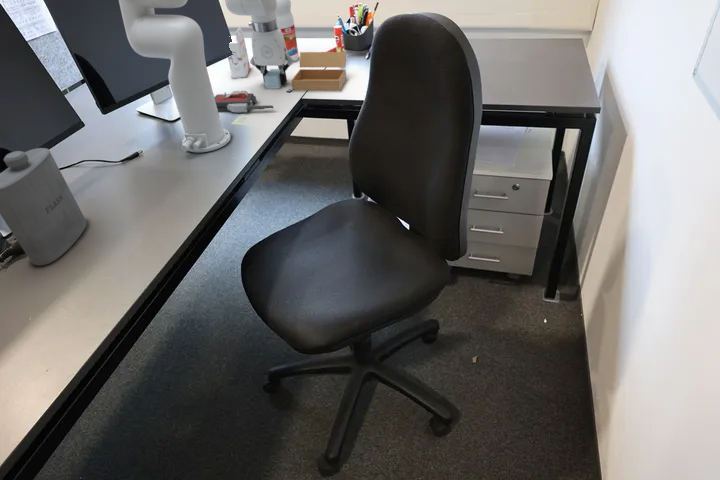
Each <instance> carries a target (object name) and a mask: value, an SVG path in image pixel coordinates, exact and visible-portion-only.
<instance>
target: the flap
mask: <svg viewBox="0 0 720 480" xmlns="http://www.w3.org/2000/svg"><path fill="white" fill-rule="evenodd" d="M346 61H347V52H346V51H300V52H299V68H346V65H347V64H346V63H347V62H346Z"/></svg>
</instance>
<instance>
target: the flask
mask: <svg viewBox="0 0 720 480" xmlns="http://www.w3.org/2000/svg"><path fill="white" fill-rule="evenodd" d="M3 162H4V163H5V165H6V167H7V168H6V169H5V170H3V171H2V172H0V217H1V218H2V220H3V221H4V222H5V224H6V225H7V227H8V228H9V230H10V232H11V233H12V235H13V236H14V238H15V239H16V241H17V242H18V244H19V245H20V247H21V249H22V250H23V252H24V253H25V254H26V256H27V258H28V259H29V261H30V262H31V264H32V265H34V266H40V267H41V266H47V265H50V264H52V263H53V262H55V261H56V260H58V259H60V258H61V257H62V256H63V255H64V254H65V253H66V252H67V251H68V250H70V248H72V246H73V245H75V243H76V242H77V241H78V239H79V238H80V237H81V236H82V234H83V232H84V231H85V229H86V228H87V225H88V224H87V222H88V221H87V219H86V218H85V216H84V214H83V212H82V210H81V208H80V206H79V204H78V202H77V200H76V198H75V197H74V195H73V192H72V191H71V189H70V188H69V185H68V183H67V182H66V179H65V178H64V176H63V173H62V172H61V170H60V168H59V166H58V164H57V162H56V160H55V159H54V156H53V154H52V153H51V151H50V149H49V148H46V147H36V148H31V149H29V150H27V151H21V150H16V151H12V152H9V153H7V154H6V155H5V156H4V158H3Z"/></svg>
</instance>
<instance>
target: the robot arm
mask: <svg viewBox="0 0 720 480" xmlns="http://www.w3.org/2000/svg"><path fill="white" fill-rule="evenodd" d="M187 2H188V0H118V3H119V9H120V12H121V17H122V22H123V26H124V30H125V34H126V39H127V41H128V43H129V45H130V47H131V49H132V50H133V51H134V52H135V53H136V54H137V55H139V56H142V57H145V58H151V59H152V58H153V59H166V60H170V66H169V68H168V69H169V70H168V73H167V74H168V75H167V77H168V83H169V86H170V89H171V93H172V96H173V99H174V102H175V105H176V108H177V112H178V115H179V117H180V121H181V124H182V128H183V130H184V137H183V139H182V141H181V145H180V147H179V148H180V150H181V152H184V153H187V152H191V153H197V154H201V153H207V152H212V151H216V150H218V149H221V148H223V147H224V146H226V145H227V144H228V143H229V142H230V141H231V138H232V137H231V133H230V131H229V130H227V129H226V128H223V126H222V121H221V117H220V113H219V111H218V109H217V106H216V102H215V98H214V97H215V95H214V90H213V86H212V83H211V80H210V76H209V75H210V74H209V72H208V67H207V62H206V56H205V44H204V34H203V31H202V28H201V26H200V25H199V24H198V23H197V21H195V20H194V19H193V18H190V17H188V16H185V15H180V14H156V12H155V9H176V8H181V7H183V6H185V5H187ZM224 2H225V6H226V8H227V10H228V11H229V12H230V13H231V14H233V15H236V16H247V17H248V16H250V17H251V21H249V22H248V27H251V28H252V31H251V38H250V39H251V50H252V56H251V59H250V60H249V64H251V65H252V66H253V67H255V68H256V69H257V70H258V71H259V72H260V73H261V74H262V78H263V83H265V81H264V76H265V75H266V74H267V73H268V72H269V70H268V66H272V67H273V66H274V67H278V68H277V69H279V70H280V74H279V76H280V81H281V87H282V86H284V85H285V84H286V83H287V81H288V80H287V73H286V72H287V70H288V69H289V68H290V67H291V66H292V65H293V64H294V63H295V61H294V60H293V59H292V58H291V57H290V55H289V54H288V53H287V49H286V45H285V41H284V37H283V34H282V32H281V29H279V28H278V22H277V16H276V6H277V0H224ZM286 60H287V61H288V63H285V61H286Z"/></svg>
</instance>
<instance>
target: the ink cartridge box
mask: <svg viewBox="0 0 720 480" xmlns="http://www.w3.org/2000/svg"><path fill="white" fill-rule="evenodd" d="M234 34H235V35H230V36H231V39H232V42H230V43H229V48H230V50H231V51H232V54H233V55H231V56H229V57H227V60H228V64H229V69H230V72H231V77H232V79H240V78H241V79H242V78H246V77H247V76H248V74H249V72H250V70H251V65H250V64H251V63H250V60H249V55H248V50H247V45H246V40H245V36H244V33H243V28H242V26H241V25H240V26H239V27H238V28H237V29H236V31H235V32H234Z"/></svg>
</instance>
